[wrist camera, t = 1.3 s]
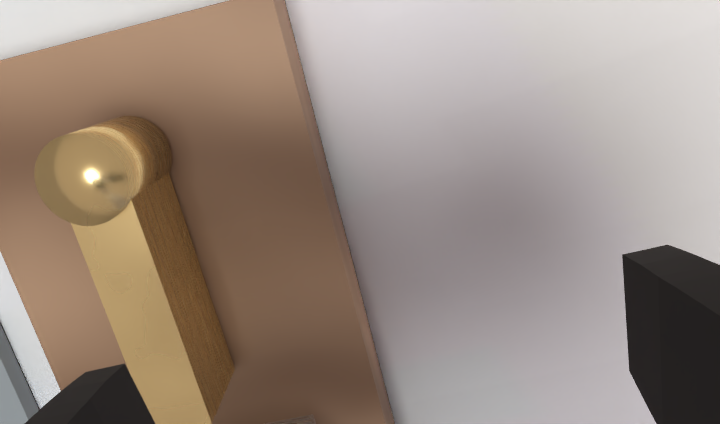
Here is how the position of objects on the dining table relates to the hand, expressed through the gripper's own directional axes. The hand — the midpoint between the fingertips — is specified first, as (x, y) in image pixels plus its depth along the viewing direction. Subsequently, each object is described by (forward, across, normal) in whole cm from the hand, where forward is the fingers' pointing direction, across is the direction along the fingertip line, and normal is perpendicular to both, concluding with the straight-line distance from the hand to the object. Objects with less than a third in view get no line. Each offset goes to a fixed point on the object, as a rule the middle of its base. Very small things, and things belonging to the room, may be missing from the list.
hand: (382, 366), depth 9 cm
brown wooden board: (+9, +6, +6) cm, 12 cm away
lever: (+7, +6, +1) cm, 9 cm away
